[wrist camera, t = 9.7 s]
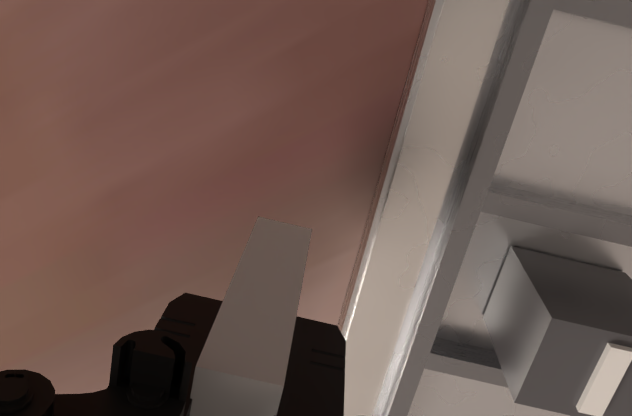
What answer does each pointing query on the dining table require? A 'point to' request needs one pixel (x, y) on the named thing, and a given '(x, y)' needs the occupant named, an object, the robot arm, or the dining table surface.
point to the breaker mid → (563, 334)
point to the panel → (487, 193)
